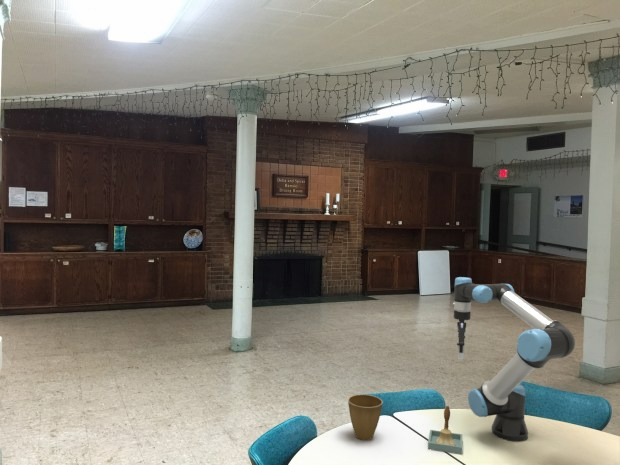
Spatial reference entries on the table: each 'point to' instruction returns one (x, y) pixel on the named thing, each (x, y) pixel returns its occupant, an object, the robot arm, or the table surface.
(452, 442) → the hand bell
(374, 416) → the plant pot
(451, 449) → the tray
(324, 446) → the table surface
